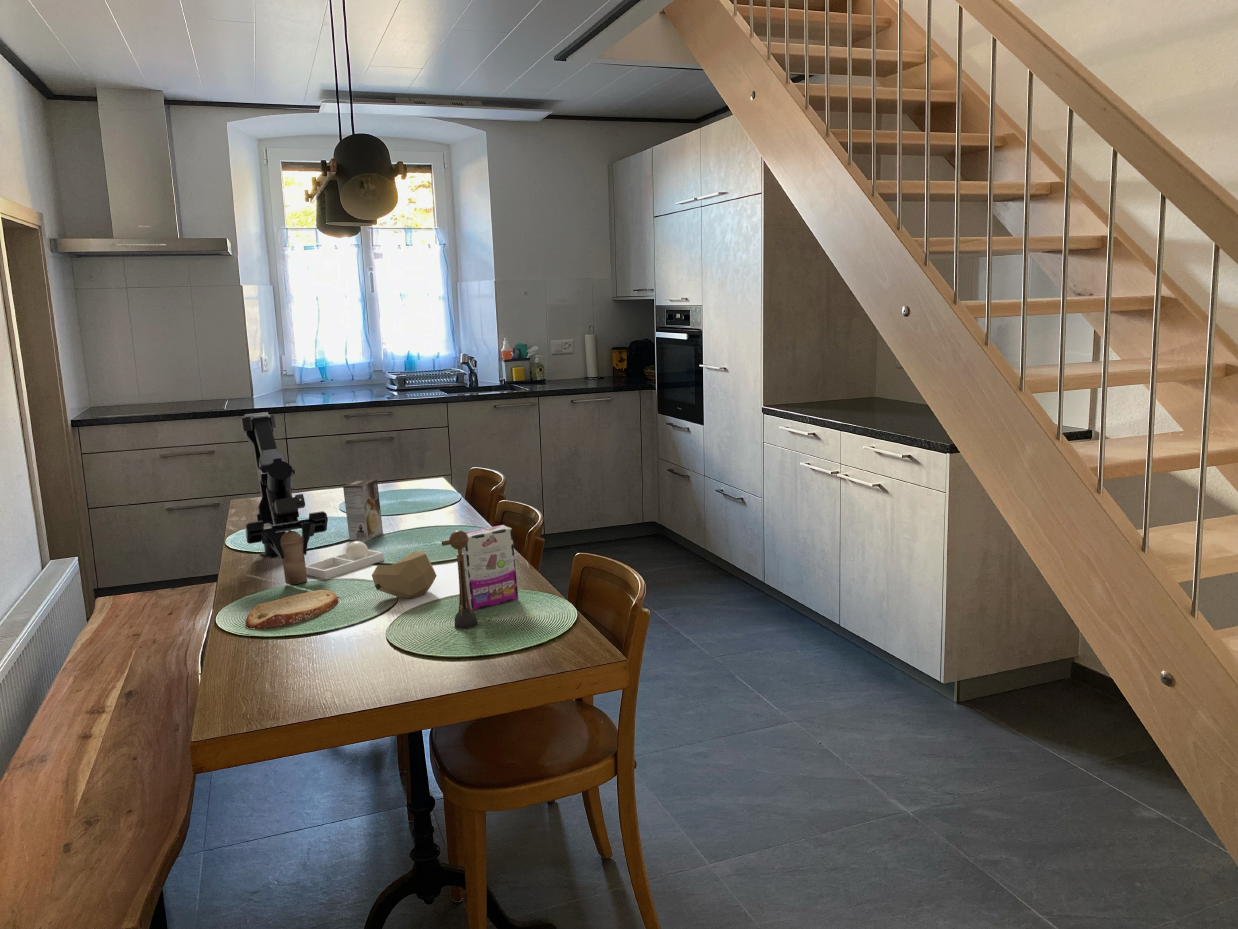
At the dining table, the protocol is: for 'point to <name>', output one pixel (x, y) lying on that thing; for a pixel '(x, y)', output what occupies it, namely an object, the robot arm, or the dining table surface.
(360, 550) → the cream white ball
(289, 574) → the brown domed cylinder
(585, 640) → the dining table surface
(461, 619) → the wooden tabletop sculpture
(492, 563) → the candy bar box
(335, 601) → the slice of bread
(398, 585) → the low-poly potato
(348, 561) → the white divided tray
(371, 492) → the coffee box
